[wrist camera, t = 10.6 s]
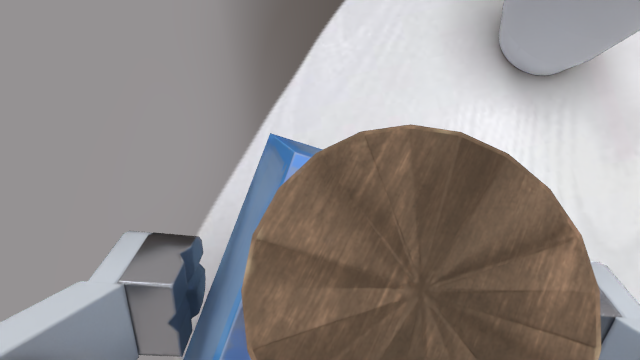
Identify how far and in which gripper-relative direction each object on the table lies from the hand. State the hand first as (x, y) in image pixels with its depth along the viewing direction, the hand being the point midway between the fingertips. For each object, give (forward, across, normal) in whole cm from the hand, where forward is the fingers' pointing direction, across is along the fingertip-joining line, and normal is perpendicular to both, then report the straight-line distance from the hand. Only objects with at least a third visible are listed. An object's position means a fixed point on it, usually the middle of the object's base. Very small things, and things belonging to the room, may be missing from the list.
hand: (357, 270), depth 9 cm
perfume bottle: (+4, 0, +5) cm, 7 cm away
